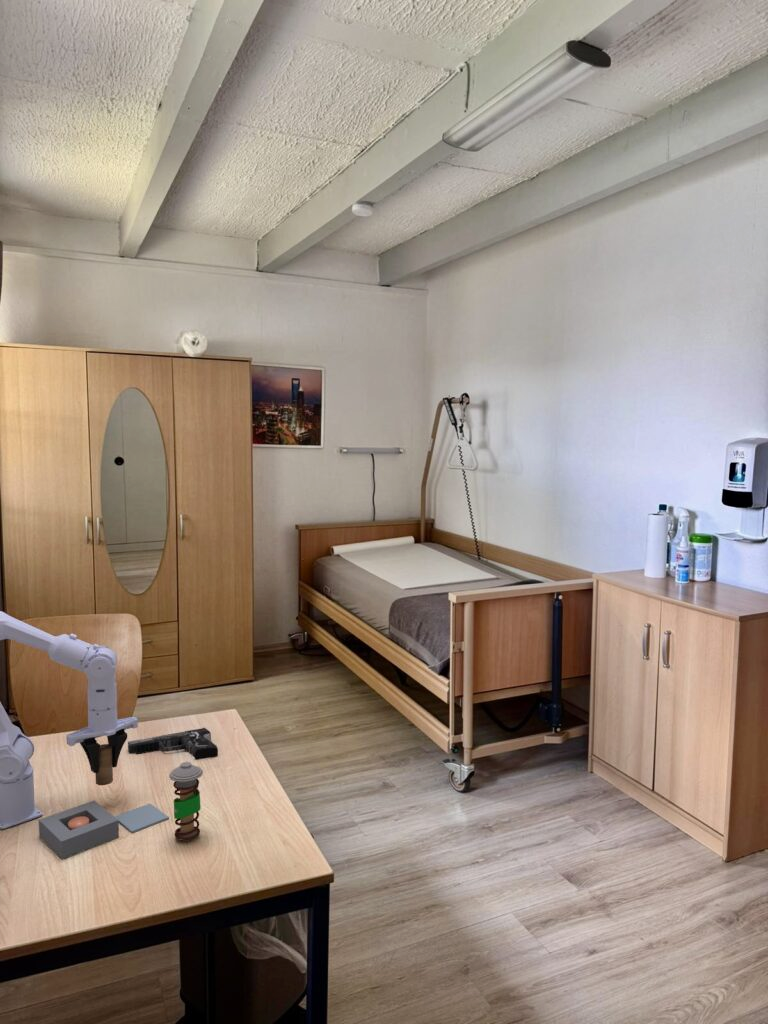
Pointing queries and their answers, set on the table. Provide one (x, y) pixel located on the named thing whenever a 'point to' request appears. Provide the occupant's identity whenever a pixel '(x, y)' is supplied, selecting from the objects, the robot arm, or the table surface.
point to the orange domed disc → (77, 822)
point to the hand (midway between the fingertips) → (103, 768)
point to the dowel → (105, 765)
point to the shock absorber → (186, 800)
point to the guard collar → (78, 829)
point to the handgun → (178, 743)
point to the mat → (141, 818)
